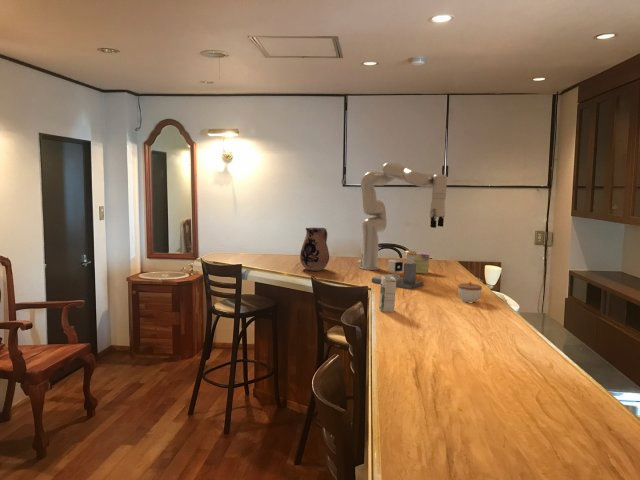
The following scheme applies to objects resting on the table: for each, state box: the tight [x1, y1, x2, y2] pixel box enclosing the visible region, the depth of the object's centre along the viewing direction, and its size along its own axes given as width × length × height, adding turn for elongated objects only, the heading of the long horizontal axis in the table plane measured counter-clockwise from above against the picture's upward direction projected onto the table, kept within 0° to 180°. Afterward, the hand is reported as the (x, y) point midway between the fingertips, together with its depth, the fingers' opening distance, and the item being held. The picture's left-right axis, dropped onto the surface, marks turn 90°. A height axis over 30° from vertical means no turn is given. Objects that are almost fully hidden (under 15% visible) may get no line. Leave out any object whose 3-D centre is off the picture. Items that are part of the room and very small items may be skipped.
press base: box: [371, 262, 424, 290], centre depth 280 cm, size 24×14×12 cm, turn 53°
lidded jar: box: [457, 281, 483, 303], centre depth 246 cm, size 11×11×9 cm
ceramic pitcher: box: [299, 227, 330, 272], centre depth 313 cm, size 18×21×25 cm
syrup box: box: [378, 276, 397, 313], centre depth 224 cm, size 6×6×14 cm
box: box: [414, 252, 430, 274], centre depth 316 cm, size 10×6×12 cm, turn 84°
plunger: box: [404, 250, 418, 264], centre depth 275 cm, size 6×6×12 cm
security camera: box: [386, 258, 405, 277], centre depth 298 cm, size 6×7×10 cm
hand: (436, 226), depth 294 cm, fingers open, 9 cm apart
